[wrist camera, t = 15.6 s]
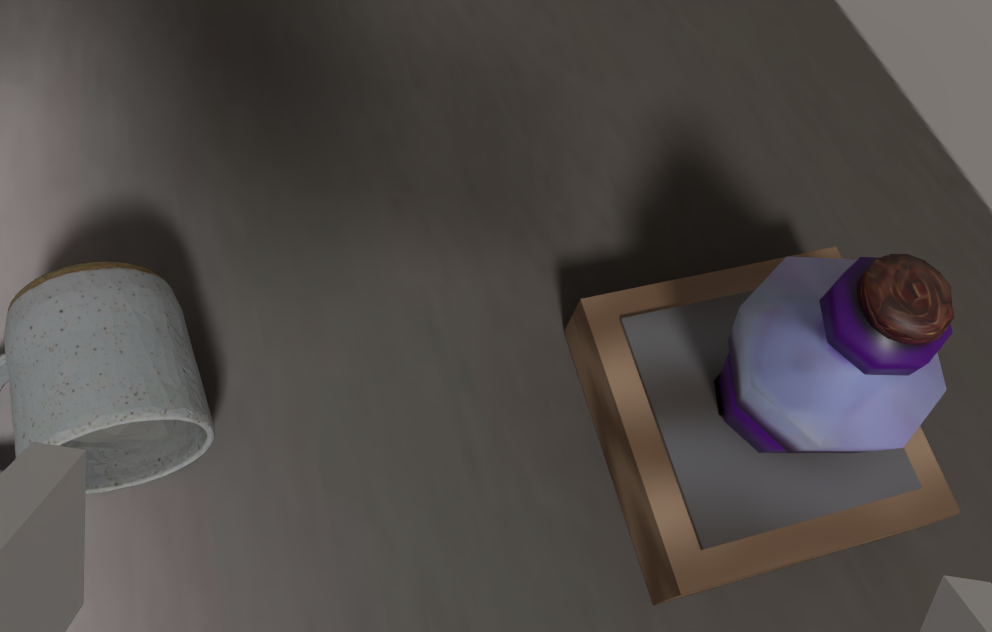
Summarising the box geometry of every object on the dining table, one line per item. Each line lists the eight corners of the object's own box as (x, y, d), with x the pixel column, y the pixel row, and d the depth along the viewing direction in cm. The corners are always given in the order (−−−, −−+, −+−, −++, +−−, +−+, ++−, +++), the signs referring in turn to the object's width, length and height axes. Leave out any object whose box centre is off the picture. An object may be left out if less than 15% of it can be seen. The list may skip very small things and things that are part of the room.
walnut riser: (564, 331, 46) (582, 296, 42) (801, 281, 49) (838, 243, 45) (653, 605, 41) (683, 593, 37) (912, 529, 44) (964, 511, 40)
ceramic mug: (187, 304, 44) (150, 227, 37) (229, 457, 41) (198, 405, 34) (-43, 369, 41) (-130, 300, 34) (-14, 536, 39) (-102, 499, 32)
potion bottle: (895, 453, 41) (1085, 360, 30) (739, 527, 39) (884, 453, 28) (798, 294, 44) (941, 156, 33) (648, 353, 41) (747, 225, 31)
